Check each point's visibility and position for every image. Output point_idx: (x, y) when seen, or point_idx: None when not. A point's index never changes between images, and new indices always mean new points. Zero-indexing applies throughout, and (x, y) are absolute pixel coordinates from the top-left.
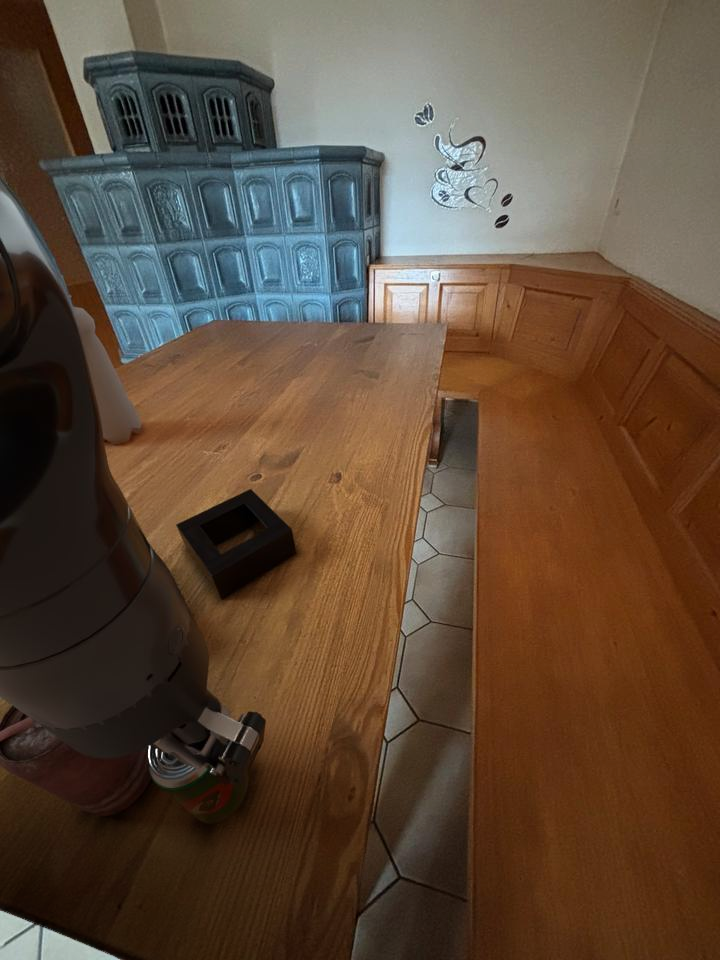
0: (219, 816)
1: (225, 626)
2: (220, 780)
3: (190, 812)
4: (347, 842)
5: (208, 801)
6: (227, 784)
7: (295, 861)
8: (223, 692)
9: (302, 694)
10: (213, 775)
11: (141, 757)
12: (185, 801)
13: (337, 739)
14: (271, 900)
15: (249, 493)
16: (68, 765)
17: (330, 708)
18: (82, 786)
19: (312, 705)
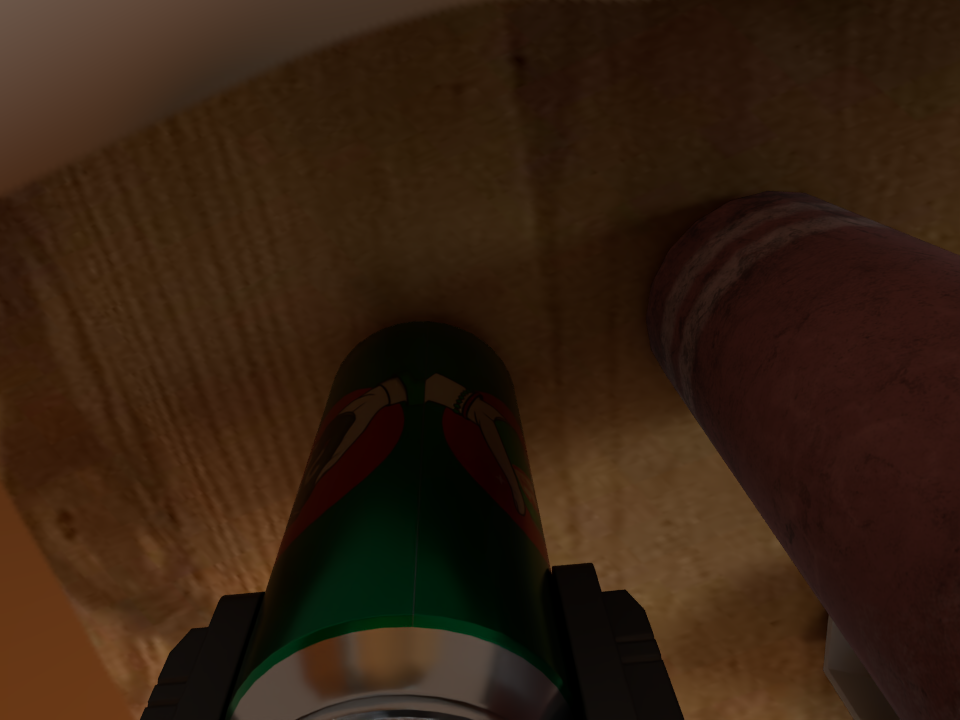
0: (345, 373)
1: (702, 701)
2: (218, 641)
3: (413, 370)
4: (7, 438)
5: (308, 480)
6: (220, 602)
7: (109, 351)
8: None
9: None
10: (227, 679)
11: (693, 412)
12: (349, 490)
13: (185, 604)
14: (112, 259)
15: None
16: (936, 520)
17: None
18: (821, 354)
19: None
